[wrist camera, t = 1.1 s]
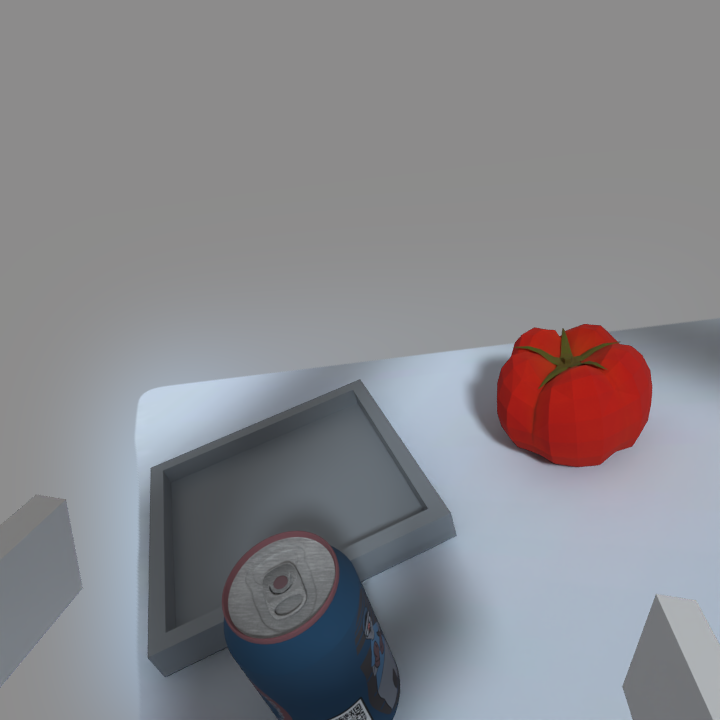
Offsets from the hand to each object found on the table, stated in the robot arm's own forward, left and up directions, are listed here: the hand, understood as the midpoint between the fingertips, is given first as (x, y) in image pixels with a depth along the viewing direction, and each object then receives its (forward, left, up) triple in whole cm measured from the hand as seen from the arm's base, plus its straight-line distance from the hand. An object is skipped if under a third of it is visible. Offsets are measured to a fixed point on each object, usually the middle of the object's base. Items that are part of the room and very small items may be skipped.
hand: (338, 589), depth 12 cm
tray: (+3, -27, -22) cm, 35 cm away
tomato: (-21, -21, -22) cm, 37 cm away
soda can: (+3, -10, -22) cm, 25 cm away
